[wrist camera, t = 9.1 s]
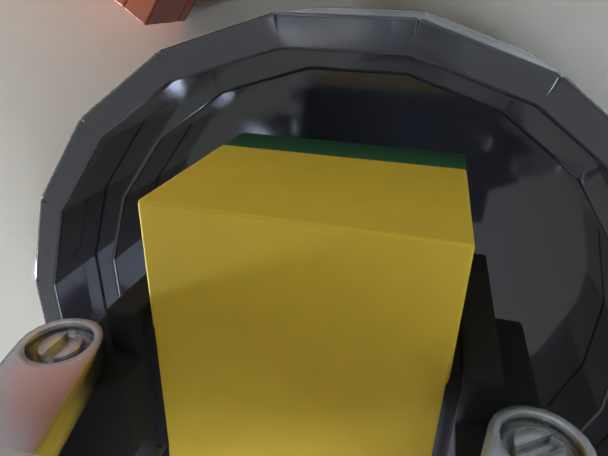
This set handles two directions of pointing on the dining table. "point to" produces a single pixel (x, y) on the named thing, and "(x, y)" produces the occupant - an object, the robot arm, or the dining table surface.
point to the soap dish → (158, 10)
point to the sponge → (307, 296)
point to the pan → (374, 131)
